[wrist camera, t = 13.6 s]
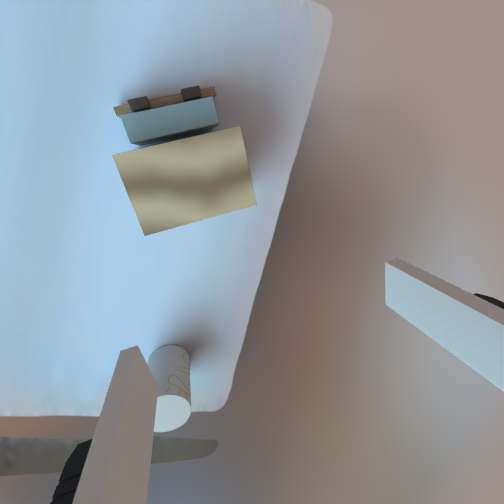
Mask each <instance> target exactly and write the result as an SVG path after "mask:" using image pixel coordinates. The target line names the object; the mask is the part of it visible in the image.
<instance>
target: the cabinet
mask: <svg viewBox="0 0 504 504" xmlns="http://www.w3.org/2000/svg"><path fill="white" fill-rule="evenodd" d="M212 96H213V98H215V96H216V92H215V87H210V88H205V89H200V87H199V86H195V87H190V88H185V89H181V94H176V95H171V96H166V97H161V98H156V99H151V100H148V98H147V96H145V97H140V98H135V99H130V100H128V103H129V104H127V105H122V106H117V107H113V108H114V110H115V113H116V115H117V116H118V117H120V118H121V116H122V115H126V114H131V113H136V112H141V111H145V110H150V109H155V108H159V107H163V105H162V103H163V102H167V101H171V103H172V105H174V104H178V103H183V102H188V101H193V100H197V99H202V98H207V97H212ZM112 156H113V159H114V161H115V164H116V166H117V169H118V171H119V174H120V176H121V179H122V181H123V183H124V186H125V188H126V191H127V193H128V196H129V198H130V201H131V203H132V206H133V208H134V210H135V213H136V215H137V218H138V220H139V223H140V225H141V228H142V230H143V233H144V235H145V236H146V235H150V234H153V233H157V232H160V231H164V230H168V229H171V228H175V227H178V226H182V225H186V224H189V223H193V222H196V221H200V220H204V219H207V218H211V217H214V216H218V215H222V214H225V213H229V212H232V211H236V210H240V209H243V208H247V207H250V206H254V205H257V202H256V197H255V193H254V188H253V183H252V179H251V174H250V169H249V165H248V160H247V155H246V151H245V146H244V141H243V136H242V132H241V127H240V126H236V127H232V128H228V129H223V130H219V131H215V132H210V133H206V134H202V135H197V136H193V137H189V138H184V139H180V140H176V141H171V142H167V143H163V144H158V145H154V146H149V147H145V148H141V149H136V150H132V151H128V152H123V153H119V154H115V155H112Z"/></svg>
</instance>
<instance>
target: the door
mask: <svg viewBox="0 0 504 504" xmlns="http://www.w3.org/2000/svg"><path fill="white" fill-rule="evenodd" d="M162 105H163V107H159V108H155V109H150V110H145V111H141V112H136V113H131V114H126V115H122V116H121V119H122V121H123V124H124V127H125V129H126V132H127V135H128V137H129V140H130V143H132V144H136V145H141V146H142V145H146V144H151V143H155V142H159V141H164V140H168V139H172V138H177V137H181V136H185V135H190V134H194V133H198V132H203V131H207V130H211V129H213V128H214V127H215V126H216V125H218V124H219V121H218V117H217V113H216V108H215V104H214V100H213V96H212V97H207V98H202V99H197V100H193V101H188V102H183V103H178V104H174V105H172V103H171V101H167V102H163V103H162Z"/></svg>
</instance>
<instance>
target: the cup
mask: <svg viewBox="0 0 504 504" xmlns="http://www.w3.org/2000/svg"><path fill="white" fill-rule="evenodd" d="M148 367H149V369H150V371H151V373H152V375H153V377H154V379H155V381H156V383H157V385H158V396H157V405H156V415H155V424H154V432H166V431H171V430H173V429H176V428H178V427H179V426H181V425H183V424H184V423H185V422H186V421H187V419H188V418H189V416H190V413H191V394H190V362H189V355H188V353H187V351H186V350H185V349H183V348H182V347H179V346H176V345H166V346H162V347H160V348H158V349H156V350H155V351H154V352H153V353H152V354H151V355H150V357H149V360H148Z"/></svg>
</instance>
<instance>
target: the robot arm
mask: <svg viewBox="0 0 504 504" xmlns="http://www.w3.org/2000/svg"><path fill="white" fill-rule="evenodd" d="M385 282H386V283H385V284H386V285H385V286H386V287H385V288H386V305H387V306H389V307H390V308H392V309H393V310H394V311H396V312H397V313H398V314H400V315H401V316H403V317H404V318H405V319H406V320H408V321H409V322H411V323H412V324H413V325H415V326H416V327H417V328H419V329H420V330H421V331H423V332H424V333H425V334H427V335H428V336H430V337H431V338H432V339H434V340H435V341H436V342H438V343H439V344H440V345H442V346H443V347H444V348H446V349H447V350H448V351H450V352H451V353H452V354H454V355H455V356H456V357H458V358H459V359H461V360H462V361H463V362H465V363H466V364H467V365H469V366H470V367H471V368H473V369H474V370H475V371H477V372H478V373H479V374H481V375H482V376H484V377H485V378H486V379H488V380H489V381H490V382H492V383H493V384H494V385H496V386H497V387H498V388H500V389H501V390H503V391H504V303H503V302H501V301H499V300H497V299H495V298H492V297H488V296H485V295H481V294H477V293H476V294H471V293H469V292H467V291H465V290H463V289H461V288H459V287H457V286H454V285H452V284H450V283H448V282H446V281H444V280H442V279H440V278H438V277H436V276H434V275H431V274H430V273H428V272H426V271H423V270H421V269H419V268H417V267H415V266H413V265H411V264H409V263H407V262H405V261H403V260H401V259H399V258H396V259H393V260H390V261H387V262H385ZM157 396H158V385H157V383H156V381H155V379H154V377H153V375H152V373H151V371H150V369H149V367H148V365H147V363H146V361H145V359H144V357H143V355H142V353H141V351H140V349H139V347H138V346H134V347H131V348H128V349H125V350H122V351H120V354H119V358H118V361H117V364H116V367H115V370H114V373H113V376H112V380H111V383H110V386H109V389H108V392H107V395H106V399H105V402H104V405H103V408H102V411H101V414H100V418H99V421H98V424H97V427H96V430H95V433H94V437H93V439H91V440H88V441H85V442H83V443H80V444H78V445H77V447H76V448H75V450H74V451H73V453H72V454H71V456H70V457H69V459H68V460H67V462H66V463H65V466H64V469H63V471H62V474H61V477H60V479H59V485H57V487H56V490H55V493H54V495H53V501H52V502H51V503H50V504H146V500H147V491H148V481H149V471H150V462H151V453H152V443H153V433H154V424H155V415H156V405H157Z"/></svg>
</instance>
